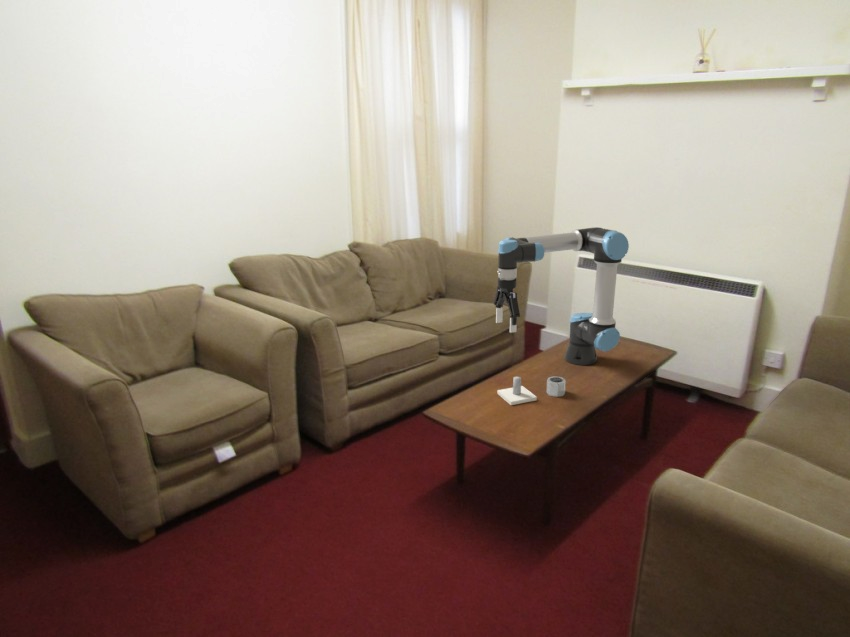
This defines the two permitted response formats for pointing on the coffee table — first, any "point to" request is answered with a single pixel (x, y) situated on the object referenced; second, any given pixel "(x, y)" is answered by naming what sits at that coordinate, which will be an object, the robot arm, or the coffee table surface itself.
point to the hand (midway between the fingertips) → (505, 327)
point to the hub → (556, 386)
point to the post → (516, 393)
